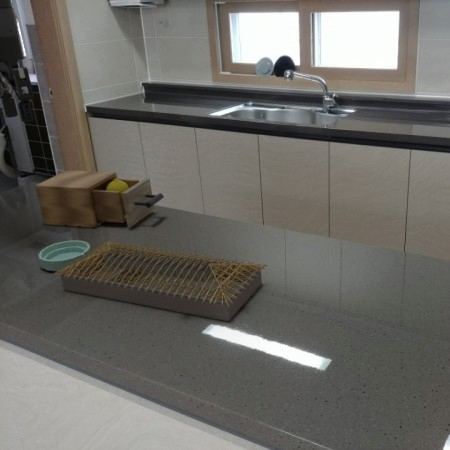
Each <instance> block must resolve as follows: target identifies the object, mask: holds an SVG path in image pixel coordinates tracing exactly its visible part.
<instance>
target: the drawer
mask: <svg viewBox="0 0 450 450" xmlns="http://www.w3.org/2000/svg"><path fill="white" fill-rule="evenodd" d="M117 179H118V180H120V181H123V182H125V183H126V184H127V185H128V187H129V189H127V190H126V191H124V192H123V193H122V197H123V203H124V208H125V209H124V211H123V205H122V200H121V194H120V191H106V189H107V186H108V185H109V184H110V183H111V182H112V181H114V180H115V179H113V178H111V179H110V180H108V181H106V182H104V183H103V184H101V185H99V186H97V187H95V188H94V189H92V190H90V191H91V196H92V201H93V206H94V211H95V216H96V221H105V222H106V223H120V224H123V223H125V222H126V225H127V226H128V227H133V226H134V225H135V224H137V223H138V222H139V221H140V220H142V219H143V218H145V217H146V216H147V215H149V214H150V213H151V212H153V211H154V210H155V205H156V204H158V202H160V201H161V200H163V199H164V194H163V193H161V192H159V193H157V194H153V191H152V184H151V178H148V177H145V178H143V179H142V180H139V179H132V178H117ZM105 222H104V223H105Z"/></svg>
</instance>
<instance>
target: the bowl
mask: <svg viewBox="0 0 450 450" xmlns="http://www.w3.org/2000/svg"><path fill="white" fill-rule="evenodd" d="M89 252H92V247H91V245H90V244H89V242H87V241H84V240H80V239H79V240H78V239H74V240H72V239H71V240H63V241H60V242H55V243H52V244H51V245H48V246H46V247H44V248H42V250H40V252H39V253H38V259H39V260H38V261H39V264H40V267H41V268H42V269H43V270H45V271H49V272H57V271H59V270H61V269H64V268H63V267H66V266H70V263H74V262H77V261H81V260H77V259H81V256H85V255H88V254H87V253H89ZM89 254H92V253H89ZM88 256H90V255H88ZM88 256H85V257H88ZM75 260H77V261H75ZM77 263H78V262H77ZM74 264H75V263H74ZM74 264H73V265H74ZM66 268H67V267H66ZM63 271H64V270H63Z"/></svg>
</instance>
